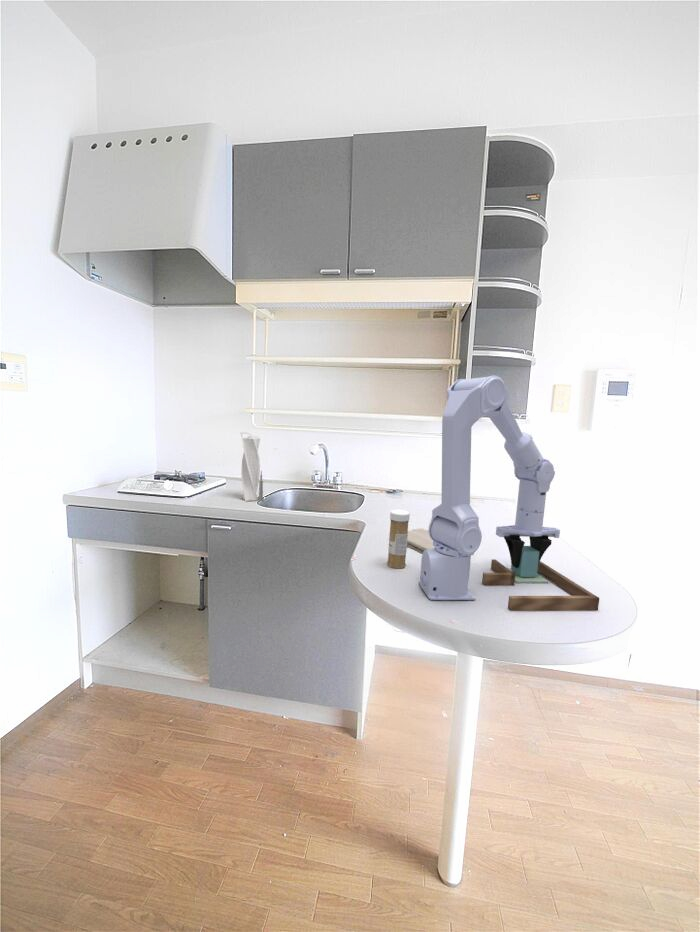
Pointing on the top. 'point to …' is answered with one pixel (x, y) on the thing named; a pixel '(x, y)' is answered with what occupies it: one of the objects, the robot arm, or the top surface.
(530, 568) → the teal block
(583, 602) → the channel
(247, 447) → the skyscraper
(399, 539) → the sprinkles bottle
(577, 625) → the top surface
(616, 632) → the top surface
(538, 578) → the pad
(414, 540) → the washcloth
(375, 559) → the top surface
